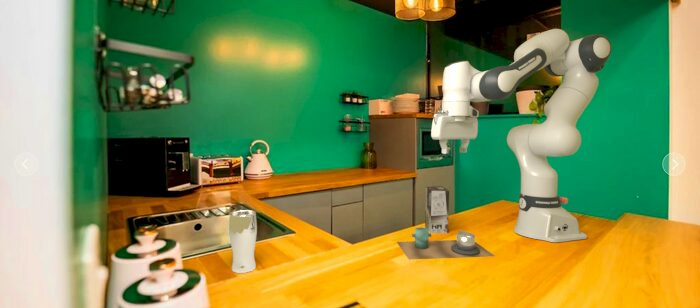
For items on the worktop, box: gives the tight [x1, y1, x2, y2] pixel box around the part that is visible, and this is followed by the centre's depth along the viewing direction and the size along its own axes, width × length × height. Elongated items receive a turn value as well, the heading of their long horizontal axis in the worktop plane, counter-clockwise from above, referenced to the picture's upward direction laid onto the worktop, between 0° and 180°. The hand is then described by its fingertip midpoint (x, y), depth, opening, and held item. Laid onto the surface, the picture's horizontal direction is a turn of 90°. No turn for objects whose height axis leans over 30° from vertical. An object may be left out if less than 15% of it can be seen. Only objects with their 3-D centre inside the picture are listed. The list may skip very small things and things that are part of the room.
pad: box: [451, 244, 480, 256], centre depth 96 cm, size 8×8×1 cm
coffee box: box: [424, 185, 450, 234], centre depth 116 cm, size 9×6×16 cm
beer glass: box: [228, 209, 258, 274], centre depth 86 cm, size 7×7×15 cm
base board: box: [396, 227, 495, 260], centre depth 97 cm, size 25×14×7 cm, turn 96°
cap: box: [456, 230, 476, 251], centre depth 96 cm, size 5×5×5 cm
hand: (454, 153), depth 108 cm, fingers open, 8 cm apart
